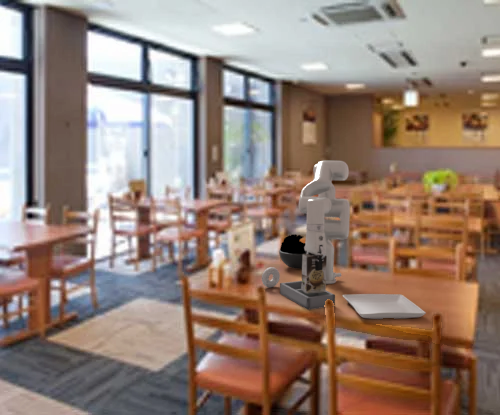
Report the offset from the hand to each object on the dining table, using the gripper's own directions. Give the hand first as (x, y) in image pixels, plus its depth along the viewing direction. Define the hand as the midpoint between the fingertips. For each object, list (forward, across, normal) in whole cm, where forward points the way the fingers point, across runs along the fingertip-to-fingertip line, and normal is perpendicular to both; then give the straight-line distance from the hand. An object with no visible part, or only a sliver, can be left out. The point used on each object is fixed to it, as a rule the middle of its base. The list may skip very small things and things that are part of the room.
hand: (314, 267), depth 220 cm
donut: (+16, +30, +6) cm, 35 cm away
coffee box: (+11, 0, 0) cm, 11 cm away
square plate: (+17, -19, -22) cm, 33 cm away
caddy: (+16, +6, 0) cm, 17 cm away
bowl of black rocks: (+16, +60, -25) cm, 67 cm away
